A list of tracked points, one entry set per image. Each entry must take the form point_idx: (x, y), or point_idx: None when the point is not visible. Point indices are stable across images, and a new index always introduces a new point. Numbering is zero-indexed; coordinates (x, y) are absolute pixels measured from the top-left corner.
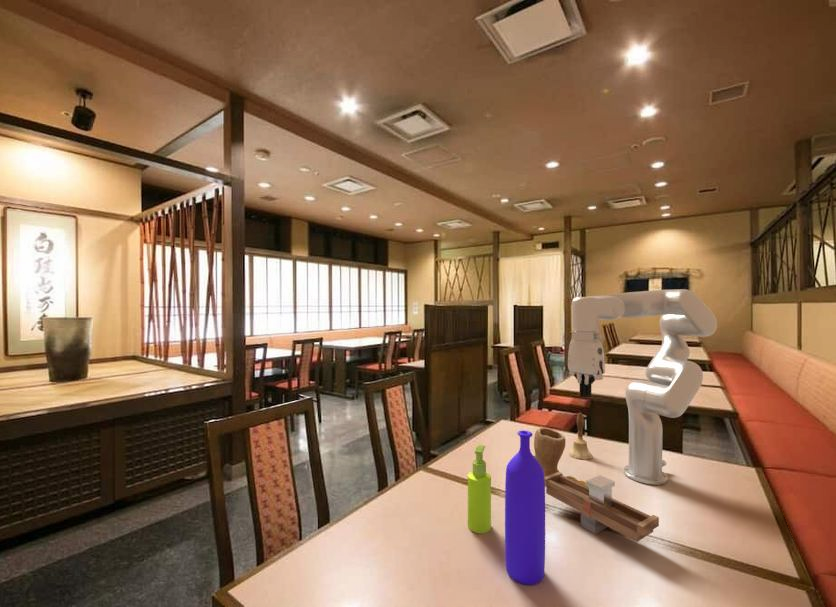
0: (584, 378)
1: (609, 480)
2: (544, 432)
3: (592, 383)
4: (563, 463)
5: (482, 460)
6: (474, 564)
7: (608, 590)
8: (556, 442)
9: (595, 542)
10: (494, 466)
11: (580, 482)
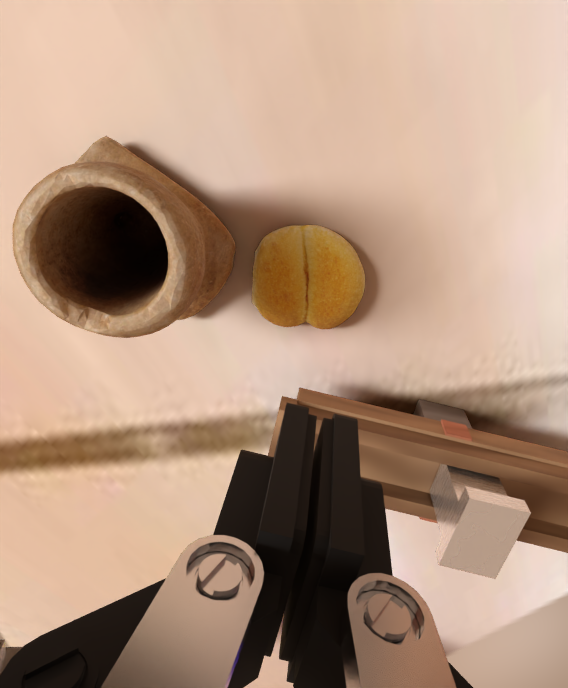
0: (226, 650)
1: (511, 516)
2: (47, 222)
3: (410, 593)
4: (147, 38)
5: None
6: (287, 666)
7: (510, 603)
8: (179, 314)
9: None
10: (2, 303)
11: (327, 292)
